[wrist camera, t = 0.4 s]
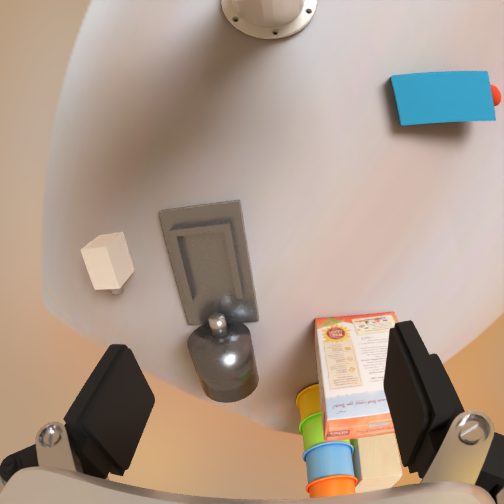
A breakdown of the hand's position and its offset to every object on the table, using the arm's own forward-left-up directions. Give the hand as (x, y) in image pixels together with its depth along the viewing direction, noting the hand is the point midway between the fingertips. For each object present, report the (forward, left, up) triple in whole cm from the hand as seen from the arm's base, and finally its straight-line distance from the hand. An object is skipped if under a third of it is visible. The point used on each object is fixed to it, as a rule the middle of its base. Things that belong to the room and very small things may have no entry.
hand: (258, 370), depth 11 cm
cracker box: (+27, +11, -36) cm, 46 cm away
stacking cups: (+45, +5, -36) cm, 57 cm away
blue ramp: (-10, +26, -36) cm, 46 cm away
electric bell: (+18, -11, -35) cm, 41 cm away
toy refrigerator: (+48, +14, -36) cm, 62 cm away
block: (+9, -27, -36) cm, 46 cm away
